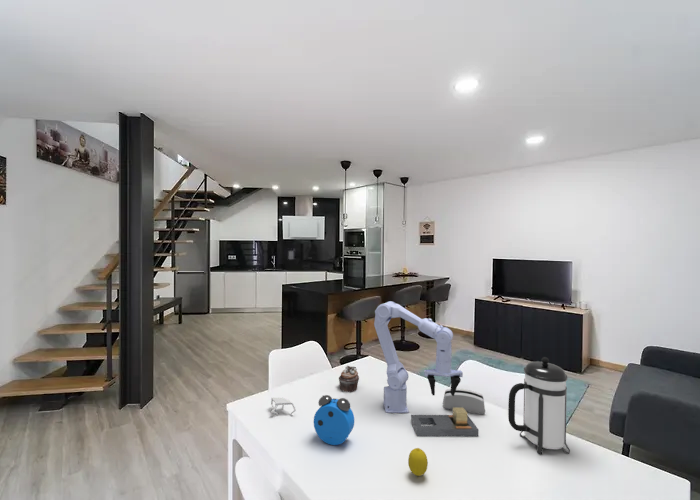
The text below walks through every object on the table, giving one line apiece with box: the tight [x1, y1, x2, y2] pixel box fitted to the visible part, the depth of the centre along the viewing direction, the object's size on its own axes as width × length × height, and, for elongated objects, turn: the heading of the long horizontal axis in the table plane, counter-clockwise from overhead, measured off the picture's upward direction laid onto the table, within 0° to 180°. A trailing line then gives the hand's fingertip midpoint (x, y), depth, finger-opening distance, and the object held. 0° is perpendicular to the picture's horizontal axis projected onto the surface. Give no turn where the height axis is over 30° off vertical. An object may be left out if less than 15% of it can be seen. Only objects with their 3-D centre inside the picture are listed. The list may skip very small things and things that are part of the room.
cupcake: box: [338, 365, 360, 393], centre depth 152 cm, size 10×10×10 cm
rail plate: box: [410, 414, 479, 437], centre depth 119 cm, size 22×10×3 cm, turn 91°
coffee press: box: [507, 356, 571, 456], centre depth 110 cm, size 17×16×30 cm
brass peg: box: [452, 408, 468, 426], centre depth 119 cm, size 4×4×7 cm
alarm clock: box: [313, 394, 355, 446], centre depth 110 cm, size 13×6×15 cm, turn 70°
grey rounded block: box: [442, 388, 486, 415], centre depth 133 cm, size 17×5×10 cm, turn 73°
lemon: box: [407, 447, 429, 477], centre depth 94 cm, size 6×6×8 cm
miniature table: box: [270, 397, 297, 418], centre depth 128 cm, size 12×8×5 cm
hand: (442, 394), depth 125 cm, fingers open, 7 cm apart
